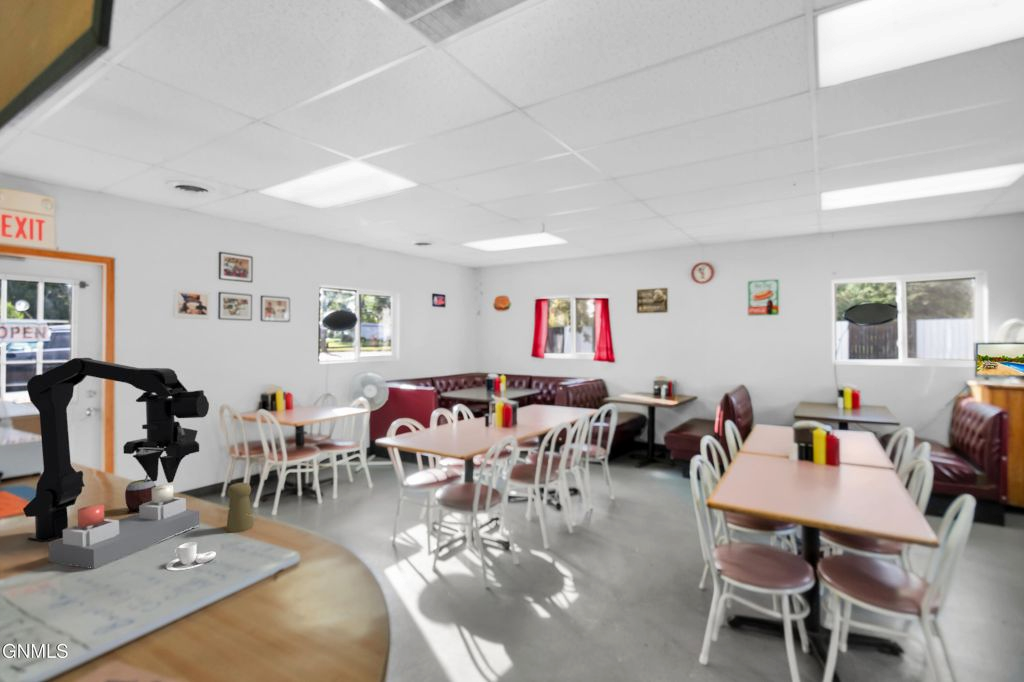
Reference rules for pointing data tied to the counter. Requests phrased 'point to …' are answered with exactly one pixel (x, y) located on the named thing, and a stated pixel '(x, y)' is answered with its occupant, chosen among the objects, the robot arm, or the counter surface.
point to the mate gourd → (138, 493)
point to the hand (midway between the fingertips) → (162, 481)
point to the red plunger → (90, 515)
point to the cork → (239, 508)
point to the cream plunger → (162, 493)
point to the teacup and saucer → (190, 556)
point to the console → (122, 534)
